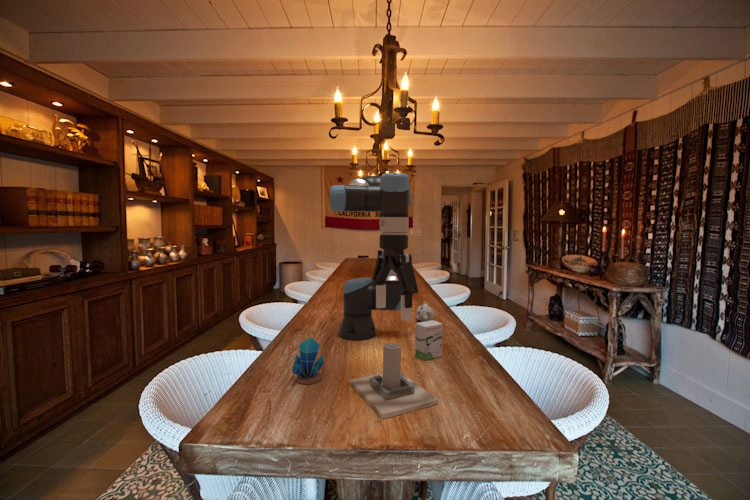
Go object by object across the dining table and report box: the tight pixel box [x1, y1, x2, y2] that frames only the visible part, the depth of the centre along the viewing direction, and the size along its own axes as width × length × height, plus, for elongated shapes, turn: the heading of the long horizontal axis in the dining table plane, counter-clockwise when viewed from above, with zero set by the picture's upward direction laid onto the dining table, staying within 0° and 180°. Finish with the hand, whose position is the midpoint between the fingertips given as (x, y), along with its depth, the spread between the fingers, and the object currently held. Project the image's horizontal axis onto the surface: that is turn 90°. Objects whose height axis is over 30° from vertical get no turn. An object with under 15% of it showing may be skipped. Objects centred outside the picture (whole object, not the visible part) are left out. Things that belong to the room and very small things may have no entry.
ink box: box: [414, 319, 444, 361], centre depth 121 cm, size 9×5×12 cm, turn 124°
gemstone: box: [291, 336, 325, 386], centre depth 102 cm, size 7×9×12 cm
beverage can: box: [382, 342, 402, 390], centre depth 94 cm, size 5×5×12 cm
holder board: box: [349, 372, 439, 420], centre depth 94 cm, size 20×16×3 cm
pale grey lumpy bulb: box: [415, 300, 436, 322], centre depth 165 cm, size 10×8×15 cm
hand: (392, 313), depth 93 cm, fingers open, 13 cm apart
